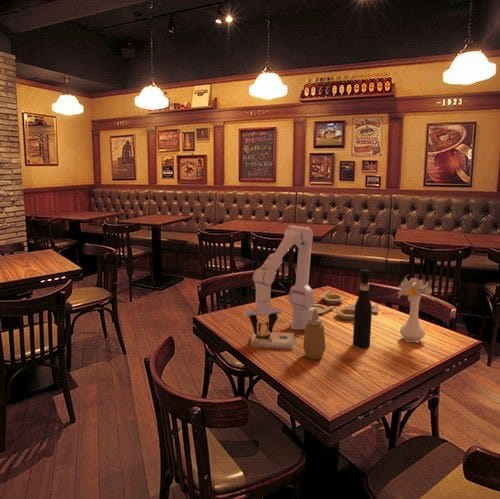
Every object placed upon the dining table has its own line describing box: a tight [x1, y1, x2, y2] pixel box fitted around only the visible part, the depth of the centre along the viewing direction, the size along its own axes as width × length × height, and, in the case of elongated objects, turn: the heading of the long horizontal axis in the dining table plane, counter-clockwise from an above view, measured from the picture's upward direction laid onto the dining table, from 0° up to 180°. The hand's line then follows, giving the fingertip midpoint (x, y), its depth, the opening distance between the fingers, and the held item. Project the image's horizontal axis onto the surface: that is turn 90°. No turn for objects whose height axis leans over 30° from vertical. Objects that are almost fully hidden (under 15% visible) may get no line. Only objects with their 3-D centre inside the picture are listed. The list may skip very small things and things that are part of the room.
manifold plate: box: [250, 330, 295, 350], centre depth 170 cm, size 16×10×2 cm, turn 81°
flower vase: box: [397, 277, 434, 342], centre depth 171 cm, size 13×18×25 cm
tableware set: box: [311, 290, 380, 321], centre depth 209 cm, size 35×29×4 cm
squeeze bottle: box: [302, 309, 327, 360], centre depth 156 cm, size 8×8×18 cm
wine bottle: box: [352, 268, 373, 349], centre depth 165 cm, size 6×6×30 cm
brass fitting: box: [257, 320, 269, 339], centre depth 170 cm, size 4×4×8 cm
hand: (262, 332), depth 170 cm, fingers open, 5 cm apart
